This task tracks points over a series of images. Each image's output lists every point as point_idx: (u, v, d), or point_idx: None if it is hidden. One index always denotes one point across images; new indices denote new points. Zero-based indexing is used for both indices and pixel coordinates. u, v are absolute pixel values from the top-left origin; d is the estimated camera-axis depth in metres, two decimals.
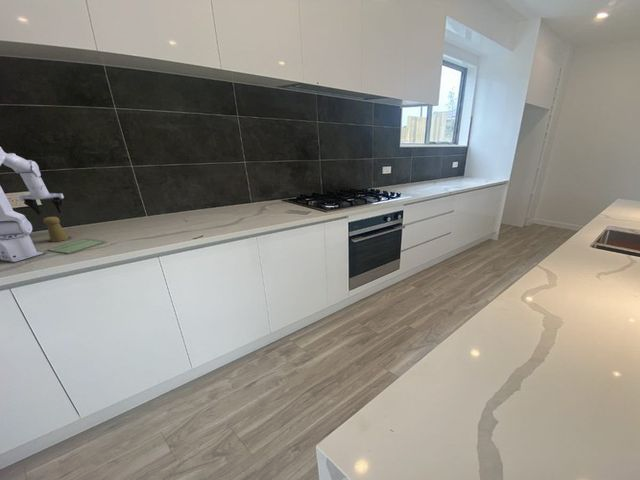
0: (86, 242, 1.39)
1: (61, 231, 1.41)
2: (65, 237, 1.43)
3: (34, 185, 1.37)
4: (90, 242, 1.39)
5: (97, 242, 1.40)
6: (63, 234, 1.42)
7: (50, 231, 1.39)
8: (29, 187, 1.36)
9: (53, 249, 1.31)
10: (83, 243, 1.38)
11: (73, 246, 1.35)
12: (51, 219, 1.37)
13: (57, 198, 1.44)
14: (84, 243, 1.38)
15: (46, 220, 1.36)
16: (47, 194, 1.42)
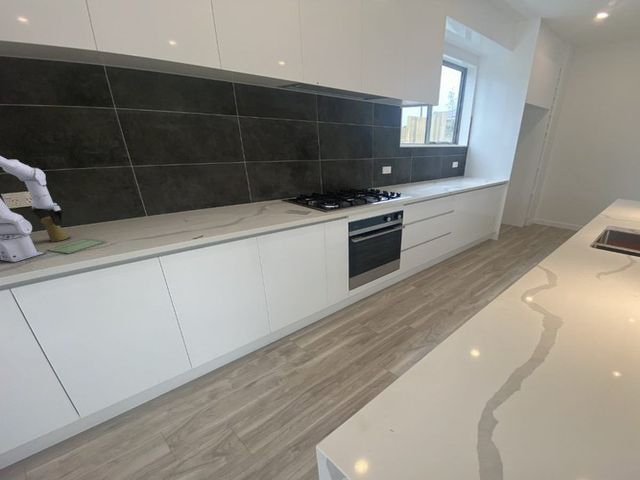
0: (86, 242, 1.39)
1: (60, 230, 1.41)
2: (64, 236, 1.42)
3: (36, 193, 1.32)
4: (90, 242, 1.39)
5: (97, 242, 1.40)
6: (62, 233, 1.42)
7: (49, 231, 1.38)
8: (32, 195, 1.32)
9: (53, 249, 1.31)
10: (83, 243, 1.38)
11: (73, 246, 1.35)
12: (48, 219, 1.37)
13: (52, 210, 1.35)
14: (84, 243, 1.38)
15: (44, 220, 1.36)
16: (46, 204, 1.34)
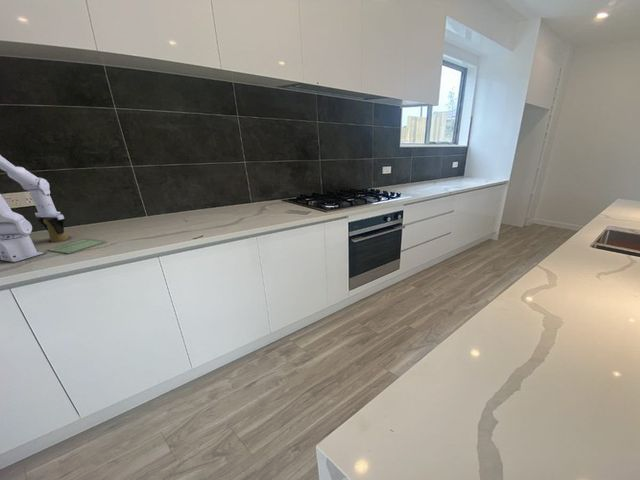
0: (86, 242, 1.39)
1: None
2: (65, 237, 1.43)
3: (40, 203, 1.33)
4: (90, 242, 1.39)
5: (97, 242, 1.40)
6: (63, 234, 1.42)
7: (50, 231, 1.39)
8: (36, 205, 1.33)
9: (53, 249, 1.31)
10: (83, 243, 1.38)
11: (73, 246, 1.35)
12: None
13: (54, 218, 1.37)
14: (84, 243, 1.38)
15: (46, 220, 1.37)
16: (50, 213, 1.36)
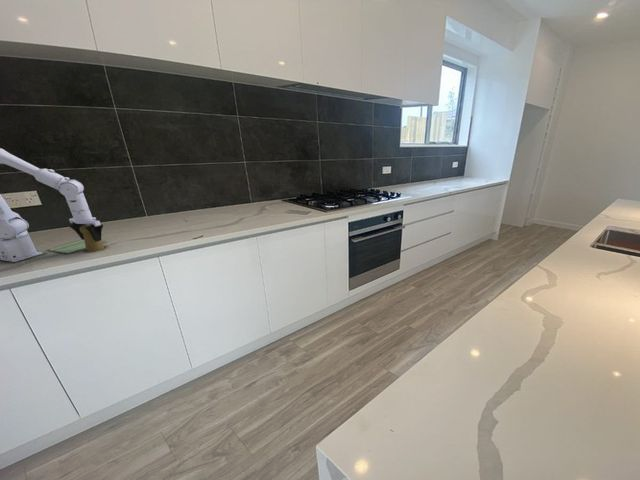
0: None
1: None
2: (101, 246, 1.33)
3: (69, 207, 1.24)
4: None
5: None
6: (99, 243, 1.33)
7: (86, 240, 1.29)
8: None
9: (53, 249, 1.31)
10: (83, 243, 1.38)
11: (73, 246, 1.35)
12: None
13: (92, 225, 1.27)
14: (84, 243, 1.38)
15: (83, 228, 1.27)
16: (86, 219, 1.26)
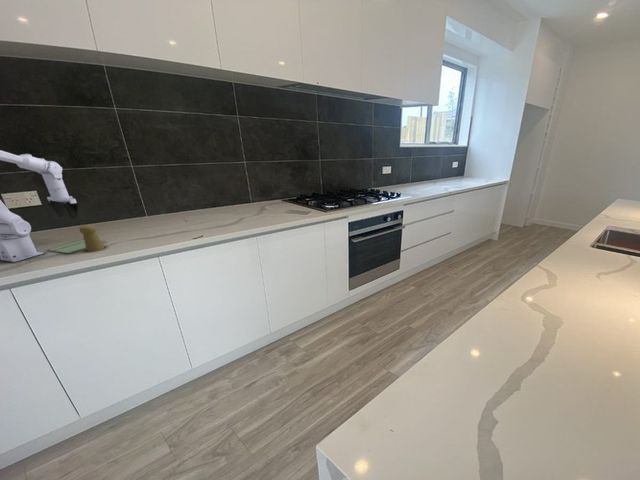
0: None
1: (98, 240, 1.32)
2: (101, 246, 1.33)
3: (51, 186, 1.33)
4: None
5: None
6: (99, 243, 1.33)
7: (86, 240, 1.29)
8: (48, 188, 1.33)
9: (53, 249, 1.31)
10: (83, 243, 1.38)
11: (73, 246, 1.35)
12: (88, 227, 1.28)
13: (69, 203, 1.36)
14: (84, 243, 1.38)
15: (83, 228, 1.27)
16: (62, 197, 1.36)
